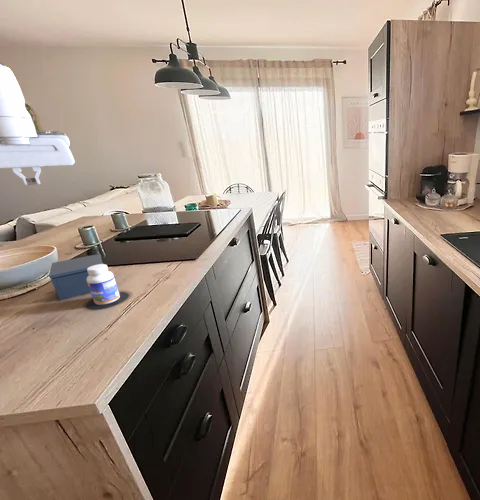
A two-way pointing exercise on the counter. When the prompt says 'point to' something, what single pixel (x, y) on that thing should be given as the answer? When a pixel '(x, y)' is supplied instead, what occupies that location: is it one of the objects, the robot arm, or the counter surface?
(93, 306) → the coaster
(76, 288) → the box
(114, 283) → the pill bottle
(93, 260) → the box lid
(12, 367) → the counter surface
